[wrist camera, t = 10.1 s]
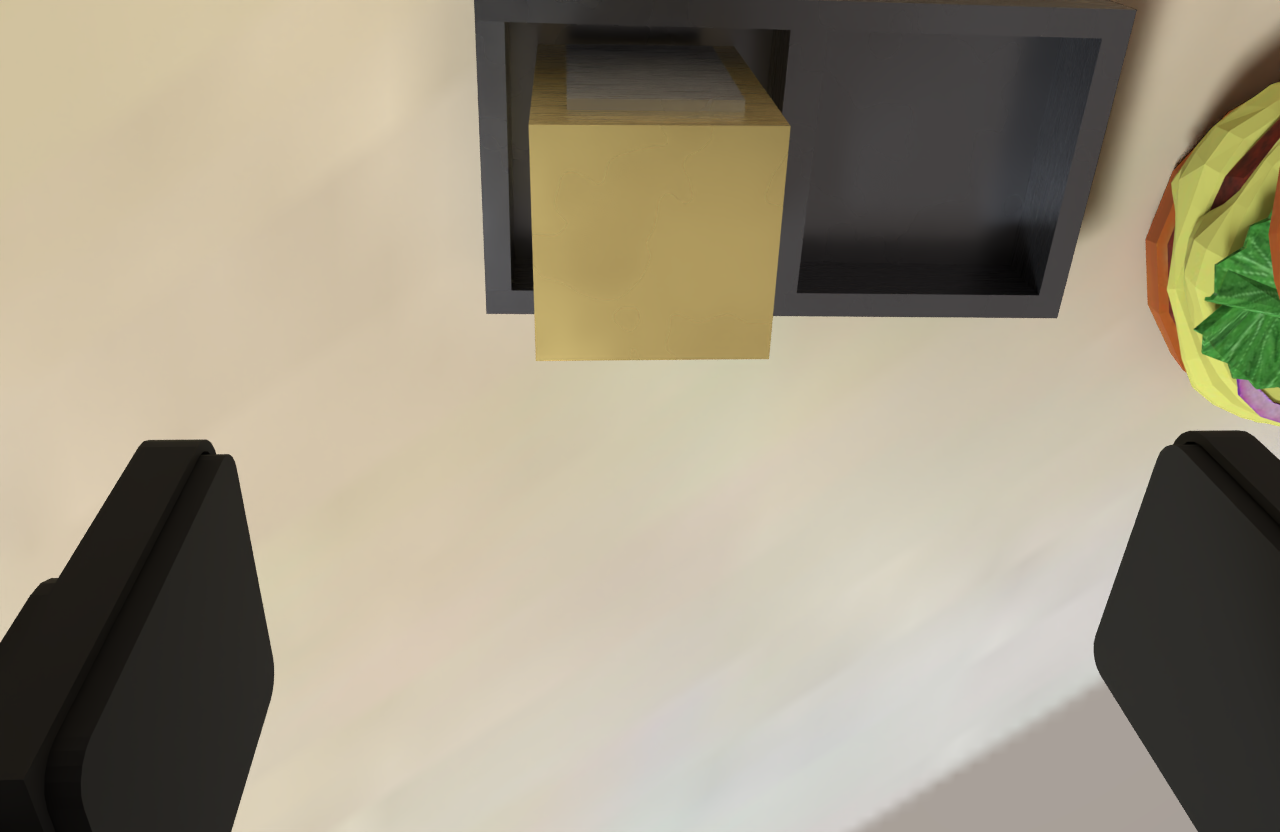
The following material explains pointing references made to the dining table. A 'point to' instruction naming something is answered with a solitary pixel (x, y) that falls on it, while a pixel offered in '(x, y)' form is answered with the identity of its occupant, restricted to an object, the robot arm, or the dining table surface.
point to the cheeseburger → (1224, 261)
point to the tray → (859, 139)
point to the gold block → (653, 203)
